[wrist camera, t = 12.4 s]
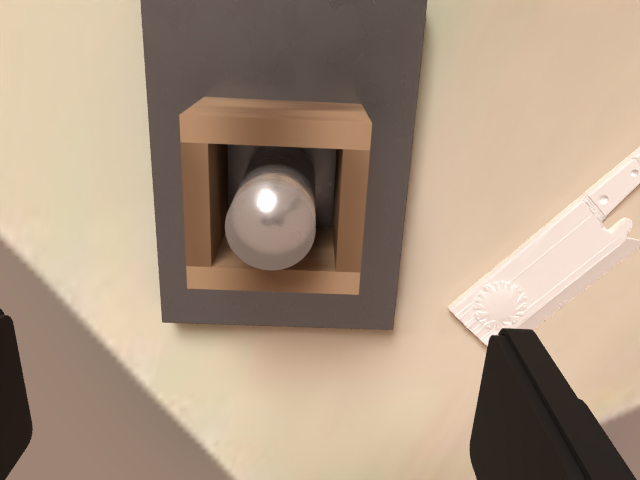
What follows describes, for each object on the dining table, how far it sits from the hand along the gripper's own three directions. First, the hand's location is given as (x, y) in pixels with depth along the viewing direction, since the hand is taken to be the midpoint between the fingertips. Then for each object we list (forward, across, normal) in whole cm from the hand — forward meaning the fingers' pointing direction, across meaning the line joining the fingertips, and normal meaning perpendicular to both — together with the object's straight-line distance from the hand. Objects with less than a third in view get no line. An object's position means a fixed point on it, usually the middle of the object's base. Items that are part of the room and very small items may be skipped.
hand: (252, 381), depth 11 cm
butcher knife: (+19, -15, +4) cm, 24 cm away
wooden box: (+16, 0, 0) cm, 16 cm away
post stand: (+18, +1, 0) cm, 18 cm away
